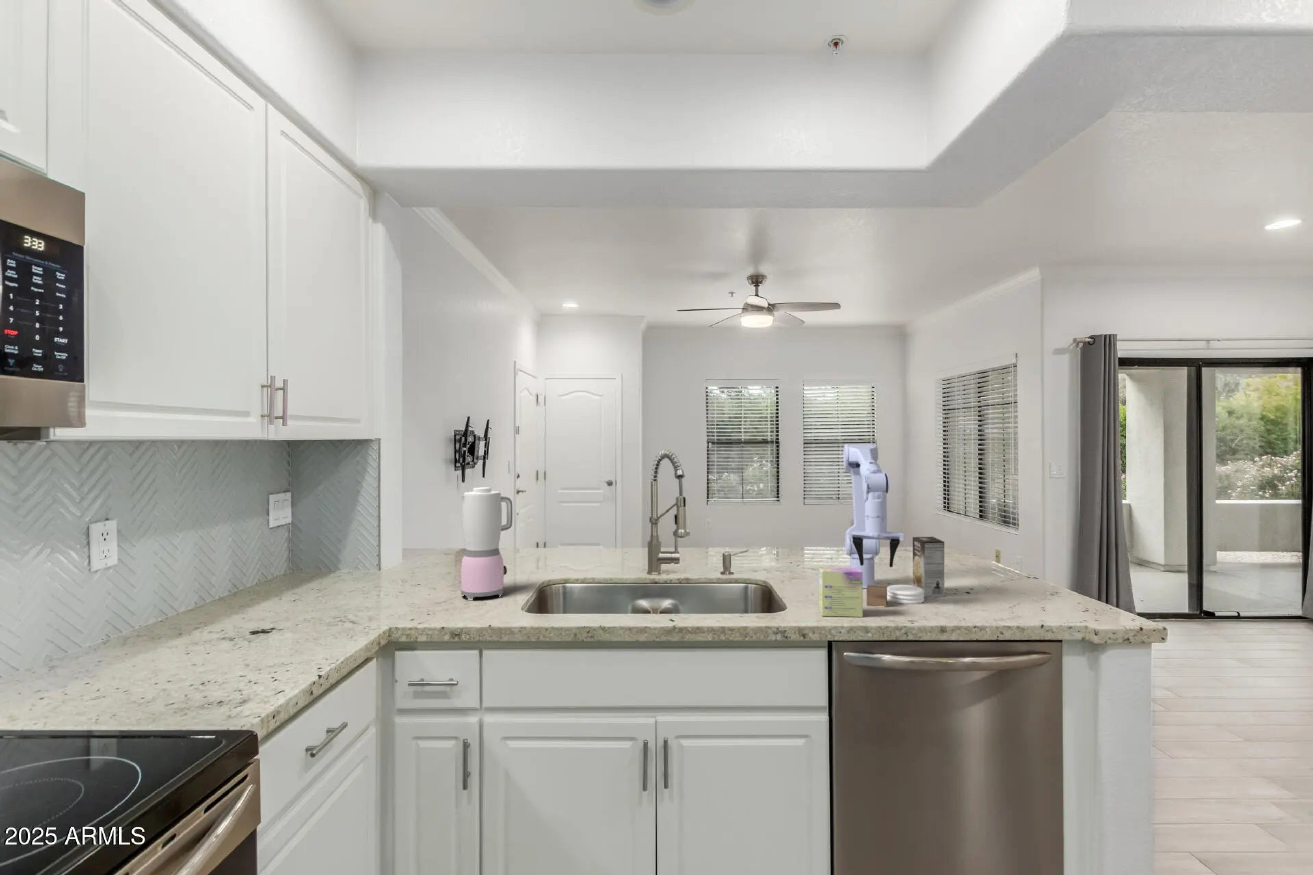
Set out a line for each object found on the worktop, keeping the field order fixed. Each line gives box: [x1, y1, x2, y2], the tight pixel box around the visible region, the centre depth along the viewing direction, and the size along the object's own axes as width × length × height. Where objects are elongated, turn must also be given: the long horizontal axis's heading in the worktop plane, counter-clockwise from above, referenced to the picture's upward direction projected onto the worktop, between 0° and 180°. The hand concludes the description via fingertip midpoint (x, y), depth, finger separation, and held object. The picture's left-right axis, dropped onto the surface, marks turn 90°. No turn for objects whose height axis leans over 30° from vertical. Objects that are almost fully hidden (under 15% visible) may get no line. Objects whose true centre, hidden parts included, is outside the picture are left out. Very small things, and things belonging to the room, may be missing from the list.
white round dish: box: [887, 584, 925, 605], centre depth 187 cm, size 10×10×4 cm
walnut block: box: [866, 584, 888, 608], centre depth 182 cm, size 5×5×5 cm
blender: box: [460, 486, 513, 599], centre depth 196 cm, size 16×12×32 cm
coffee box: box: [912, 536, 945, 598], centre depth 195 cm, size 9×6×16 cm
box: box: [818, 566, 864, 618], centre depth 172 cm, size 10×6×12 cm, turn 84°
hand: (876, 565), depth 182 cm, fingers open, 7 cm apart
